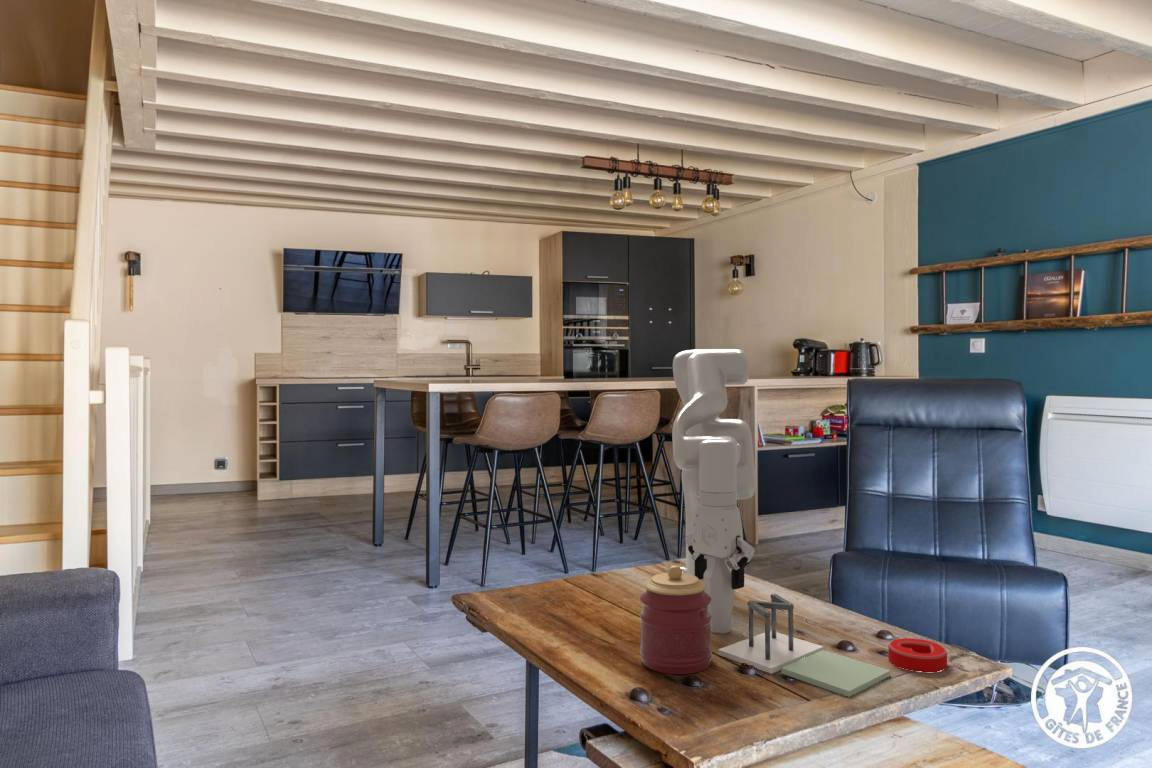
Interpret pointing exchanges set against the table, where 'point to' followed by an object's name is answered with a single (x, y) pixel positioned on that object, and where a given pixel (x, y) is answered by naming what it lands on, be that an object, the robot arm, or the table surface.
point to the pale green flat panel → (836, 672)
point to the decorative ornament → (917, 655)
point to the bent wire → (761, 608)
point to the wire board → (777, 652)
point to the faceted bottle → (719, 595)
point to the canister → (675, 623)
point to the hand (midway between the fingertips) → (718, 583)
